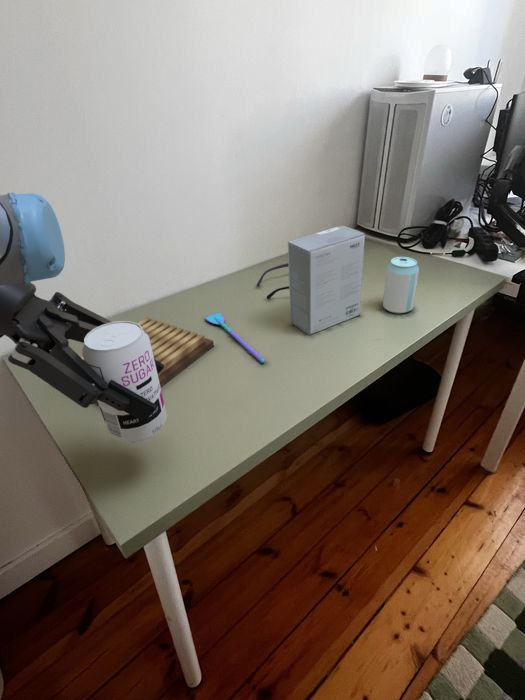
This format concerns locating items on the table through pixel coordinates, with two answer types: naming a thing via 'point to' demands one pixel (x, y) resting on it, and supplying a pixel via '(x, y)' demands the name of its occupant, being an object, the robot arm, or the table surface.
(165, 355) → the scrub board
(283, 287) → the sunglasses
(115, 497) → the table surface
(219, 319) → the spoon
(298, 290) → the hard drive box
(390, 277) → the can
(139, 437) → the supplement can
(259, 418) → the table surface
